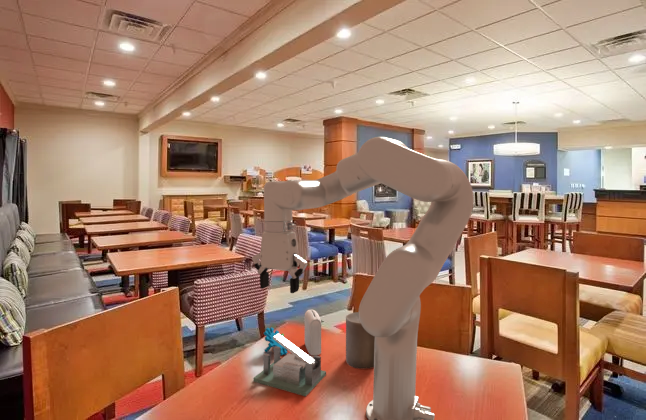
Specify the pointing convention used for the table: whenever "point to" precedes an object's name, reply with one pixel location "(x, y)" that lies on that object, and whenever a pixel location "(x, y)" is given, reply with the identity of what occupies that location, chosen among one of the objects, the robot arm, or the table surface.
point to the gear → (273, 341)
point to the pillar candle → (358, 343)
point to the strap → (294, 350)
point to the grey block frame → (292, 368)
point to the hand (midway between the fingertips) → (279, 289)
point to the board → (300, 390)
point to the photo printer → (313, 332)
